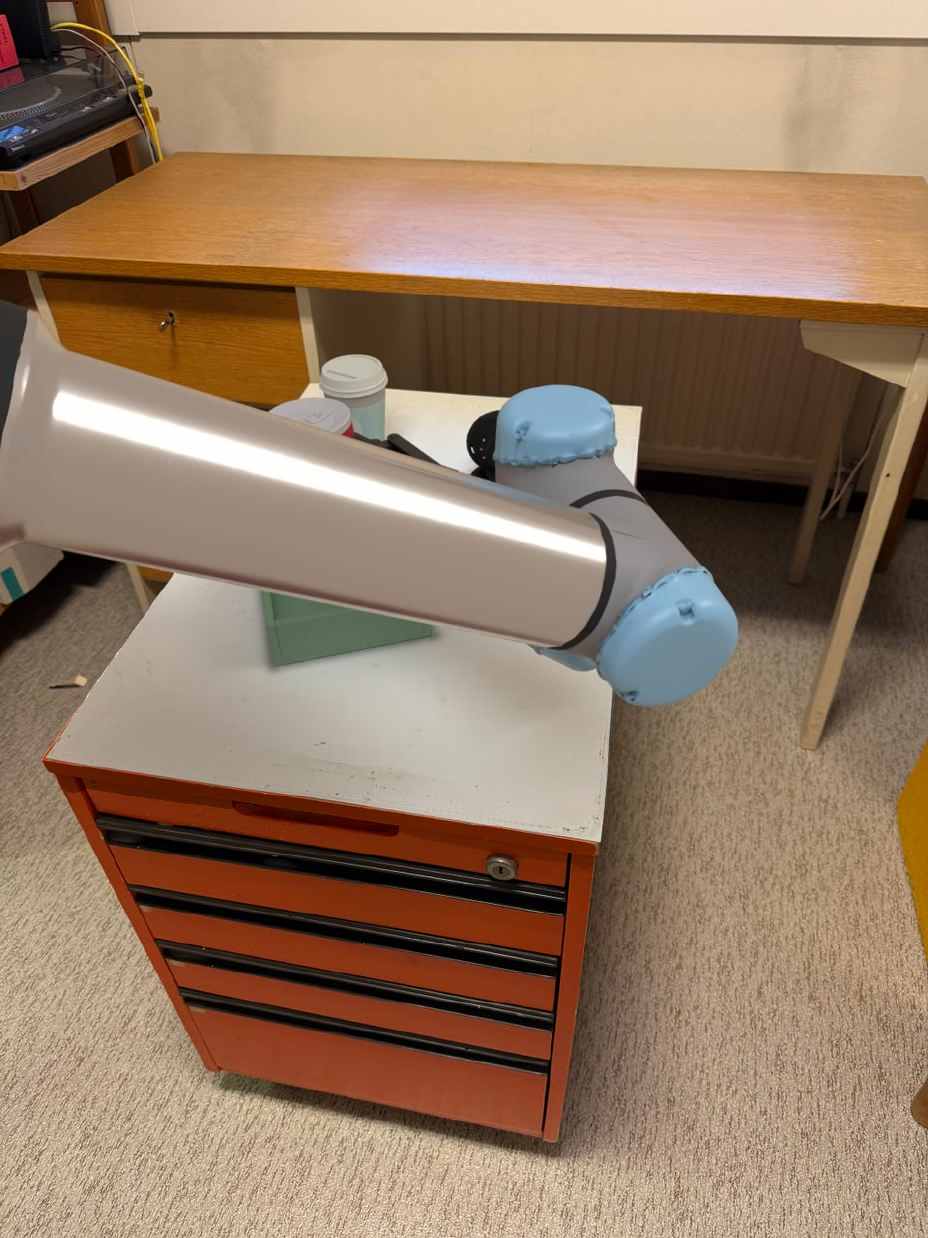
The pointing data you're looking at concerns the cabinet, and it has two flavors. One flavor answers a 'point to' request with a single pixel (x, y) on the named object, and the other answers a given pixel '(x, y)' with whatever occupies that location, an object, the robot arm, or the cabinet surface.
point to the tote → (328, 628)
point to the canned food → (318, 414)
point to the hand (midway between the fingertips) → (282, 449)
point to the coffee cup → (358, 391)
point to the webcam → (483, 445)
